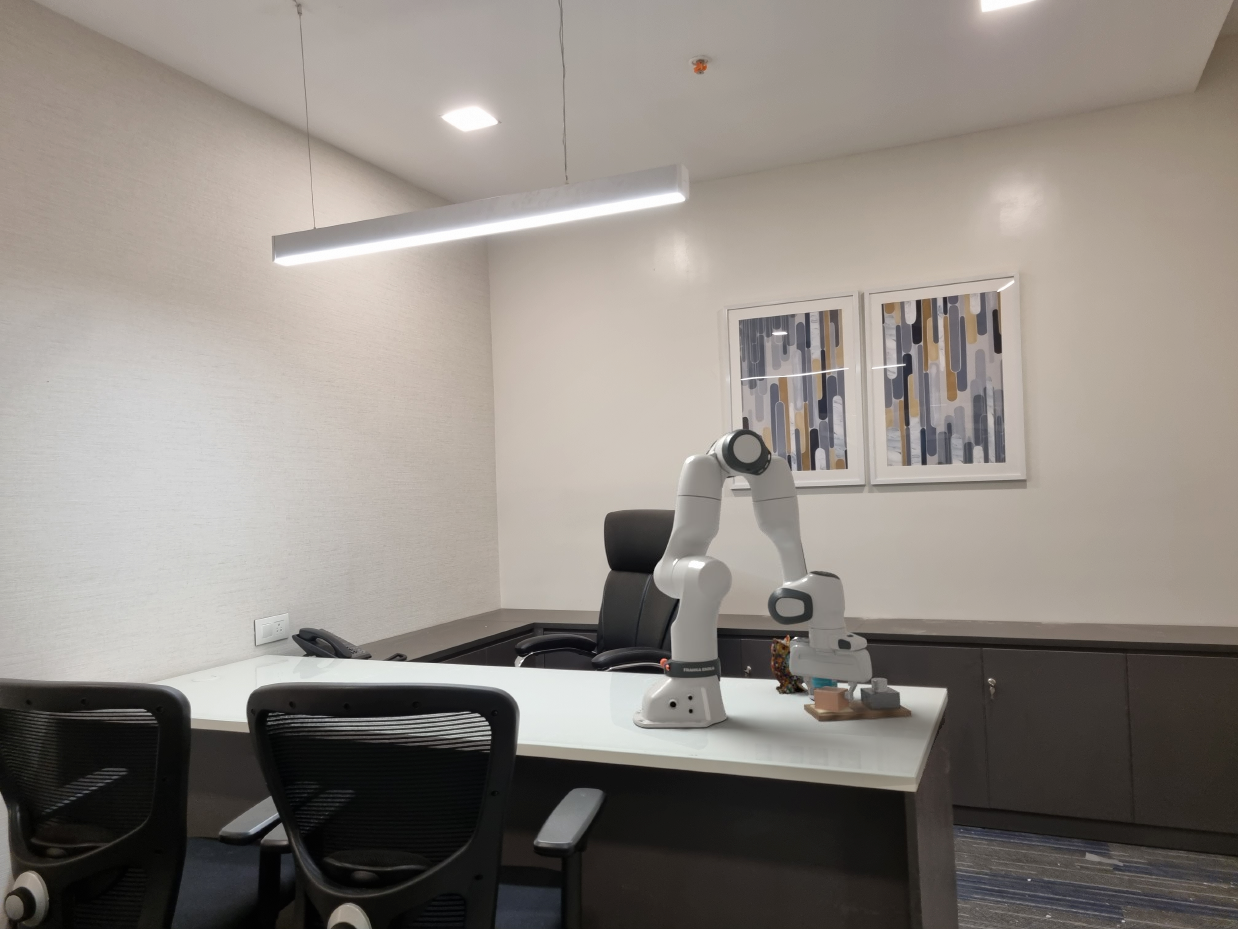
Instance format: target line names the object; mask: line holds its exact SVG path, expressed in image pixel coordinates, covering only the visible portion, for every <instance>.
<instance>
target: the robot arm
mask: <svg viewBox="0 0 1238 929" xmlns="http://www.w3.org/2000/svg"><path fill="white" fill-rule="evenodd" d="M764 441H765V440H763V438H762V437H761V436H760V434H758V433H757V432H756V431H754V430H751V429H749V428H748V429H747V428H739V429H735V430H733V431H731V432H730V431H729V432H727V433H725V434H723V435H722V436H720V437H719V438H718V439H717V440H715V441H714V442H713V443H712V445H711V446H710V448H708V450H707V451H706V453H696V454H694V455H693V454H692V455H690V456H688V457H687V458H686V459H685V460H684V462H683V465H682V468H681V470H680V475H679V480H678V483H677V490H676V491H677V492H676V499H675V500H676V502H675V508H674V509H675V511H674V518H673V525H672V530H671V533H670V537H669V539H668V543H667V546H666V549H665V551H664V553H663V555H662V558H661V559H660V560H659V561H658V562H657V564H656V566H655V567H654V569H653V570H654V571H653V581H654V584H655V587H656V588H657V589H658V590H659V591H660V592H662V594H665V595H666V596H668V597H669V598H672V599H679V606H678V612H677V615H676V618H675V620H674V621H673V622H672V624H671V626H670V640H671V641H670V642H671V644H670V645H671V658H670V659H666V658H662V659H661V660H660V666H661V667H662V668H663V674H664V675H662V677H660V678H659V679H658V680H657V681H656V682H654V683H653V684H652V685H651V686H650V687H648V689H646V691H645V692H644V694H643V697H642V703H641V710H639V709H638V710H637V711H635V712H634V713H633V715H632V720H633V723H634V724H635V725H636V726H638V727H641V728H707V727H709V726H711V725H713V724H717V723H720V722H723V721H725V720H726V719H727V718H728V715H727V712H726V709H725V705H724V702H723V696H722V690H721V683H720V682H721V677H722V671H721V661H720V658H719V657H718V656H719V655H718V632H717V631H718V621H719V616H720V611H721V607H722V603H723V601H724V599H725V597H726V596H727V595H728V594H729V592H730V590H731V588H732V585H733V576H732V572H731V570H730V568H729V566H728V565H727V564H726V563H725V562H724V561H722V560H719V559H717V558H715V557H713V556H709V555H707V552H708V550H709V548H710V544H711V543H712V542H713V540H714V539H715V538H716V536H717V535H718V533H719V530H720V521H721V520H720V518H721V510H722V509H721V508H722V507H721V506H722V498H723V496H722V495H723V487H724V484H725V481H726V480H727V479H731V478H736V477H743V478H744V479H745V481H747V483H748V485H749V488H750V490H751V499H752V501H751V502H752V507H753V512H754V517H755V520H756V523H757V525H758V528H759V530H760V531H761V532H762V533H763V534H764V535H766V536H767V537H768V538H769V540H771V542H772V543H773V545H774V546H775V548H776V551H777V555H778V559H779V566H780V571H781V576H782V585H781V586H780V587H778V588H776V589H774V591H773V592H771V594H770V595H769V597H768V601H767V609H768V612H769V615H770V617H771V618H772V620H774V621H775V622H776V623H778V624H781V625H784V626H794V625H797V624H801V623H802V624H803V623H806V624H807V626H808V637H805V636H804V637H801V636H794V638H792V639H791V640H790V663H789V670H790V672H791V673H792V675H797V676H803V680H804V682H805V683H804V684H805V686H806V687H807V688H806V689H807V691H808V696H809V695H811V696H814V690H817V687H814V686H813V684H812V682H811V680H812V679H813V677H816V678H825V679H834V680H837V681H843V682H844V681H845V682H847V686H849V688H848V691H847V692H844V695H845V700H849V701H853V700H854V699H855V696H854V692H855V690H856V688H857V687H858V685H859V684H858V683H862V684H863V683H867V682H869V681H870V680H871V679H872V677H873V668H872V661H871V656H870V653H869V651H868V650H867V649H866V647H867V645H868V642H867V639H866V638H865V637H863V636H860V635H857V634H855V633H853V632H850V631H848V630H847V624H846V620H845V611H846V601H845V600H846V599H845V592H844V591H845V590H844V585H843V583H842V579H841V578H840V577H839V576H838V575H837V574H835V573H832V572H828V571H822V570H813V571H809V572H808V570H807V565H806V558H805V553H804V548H803V543H802V539H801V538H802V537H801V526H800V524H801V523H800V510H799V509H800V508H799V500H798V493H797V488H796V483H795V480H794V475H793V473H792V470H791V468H790V464H789V462H788V461H787V460H786V459H785V458H783V456H782V457H781V456H779V455H772V452H771V450H770V449H769V448H768V446H767V445H766V443H765V442H764Z"/></svg>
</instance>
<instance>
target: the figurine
mask: <svg viewBox="0 0 1238 929" xmlns="http://www.w3.org/2000/svg"><path fill="white" fill-rule="evenodd" d="M790 639H791V638H790V635H789V634H787V635H786V637H785V638H784V639H777V638H773V639H772V643H771V646H770V653H771V661H770V669H771V671H772V674H773V676H774V677H775V679H776V681H777V682H778V683H779V685H777V686H776V687H775V690H777V693H779V694H785V695H789V694H790V693H791V694H792V693H807V691H808V688H806V687H805V686H804V685H803V684H805V682H804V680H803V676H797V675H792V673H791V672H790V670H789V663H790V641H791V640H790Z"/></svg>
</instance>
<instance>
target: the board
mask: <svg viewBox="0 0 1238 929" xmlns="http://www.w3.org/2000/svg"><path fill="white" fill-rule="evenodd" d="M900 707H901V709H889V710H870V709H869V708H867V707H865V706H864V705H862V704H861V700H860V701H849V707H847V708H845V709H843V710H840V711H831V710H823V709H815V703H807V704H803V710H804V711H805V712H806V713H808V714H810V716H812V717H813V718H814V719H815V720H816V721H818V722H828V721H829V722H830V721H848V720H849V721H850V720H863V719H864V720H865V719H868V720H870V719H884V718H902V717H903V718H904V717H906V718H907V717H912V710H910V709H908V708H907V707H905V706H903V705H902V704H900Z"/></svg>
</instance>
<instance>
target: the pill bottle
mask: <svg viewBox="0 0 1238 929" xmlns="http://www.w3.org/2000/svg"><path fill="white" fill-rule="evenodd" d="M811 682H812V684H813V686H814V687H817V689H819V688H822V687H824V686H829V687H838V686H839V685H838V680H834V679H825V678H816V677H813V679H812V680H811ZM838 688H839V687H838ZM808 698H809V699H811V700H812V701H814V696H811V695H809V694H808Z"/></svg>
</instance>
